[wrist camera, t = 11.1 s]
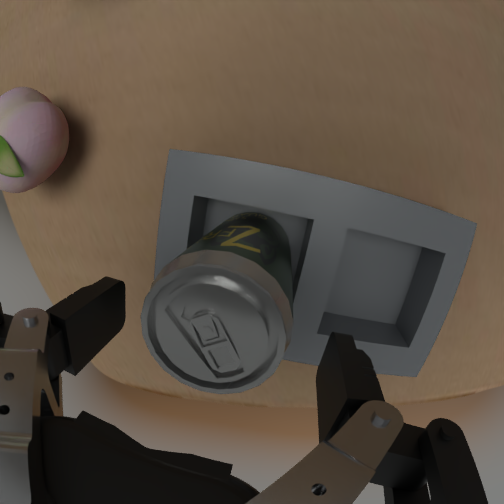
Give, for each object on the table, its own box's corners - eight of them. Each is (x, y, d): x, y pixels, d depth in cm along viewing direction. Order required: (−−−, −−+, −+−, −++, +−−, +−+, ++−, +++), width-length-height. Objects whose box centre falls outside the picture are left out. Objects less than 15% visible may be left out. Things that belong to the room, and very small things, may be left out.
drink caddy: (446, 213, 19) (477, 223, 15) (400, 346, 22) (416, 376, 18) (193, 153, 20) (169, 148, 16) (173, 300, 24) (151, 326, 19)
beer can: (301, 269, 21) (315, 377, 9) (232, 294, 22) (181, 407, 10) (272, 198, 20) (253, 229, 8) (202, 227, 21) (109, 289, 9)
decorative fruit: (22, 155, 22) (-52, 161, 13) (55, 85, 20) (-21, 70, 10) (68, 206, 23) (-16, 228, 13) (109, 128, 21) (20, 116, 11)
